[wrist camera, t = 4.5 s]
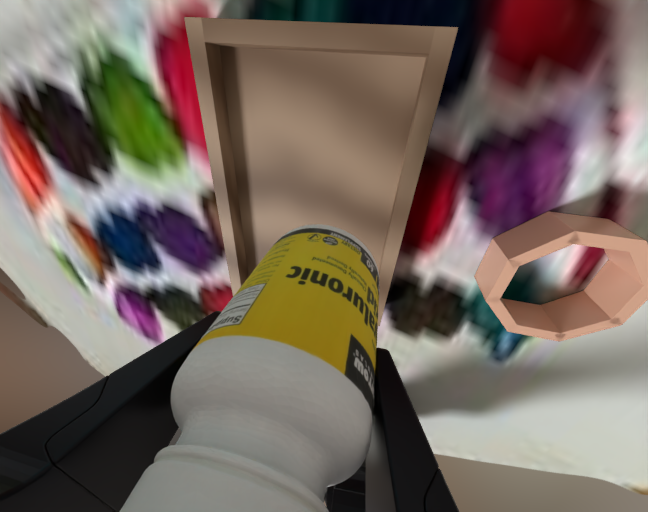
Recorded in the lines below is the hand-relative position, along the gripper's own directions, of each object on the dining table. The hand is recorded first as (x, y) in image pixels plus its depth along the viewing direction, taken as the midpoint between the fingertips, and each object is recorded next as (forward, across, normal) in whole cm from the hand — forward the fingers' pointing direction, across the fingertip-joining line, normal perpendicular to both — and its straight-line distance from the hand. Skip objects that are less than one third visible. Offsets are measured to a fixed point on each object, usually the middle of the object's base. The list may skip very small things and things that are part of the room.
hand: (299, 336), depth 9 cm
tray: (+13, +3, 0) cm, 13 cm away
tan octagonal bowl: (+13, -15, +2) cm, 20 cm away
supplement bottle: (+4, 0, 0) cm, 4 cm away
